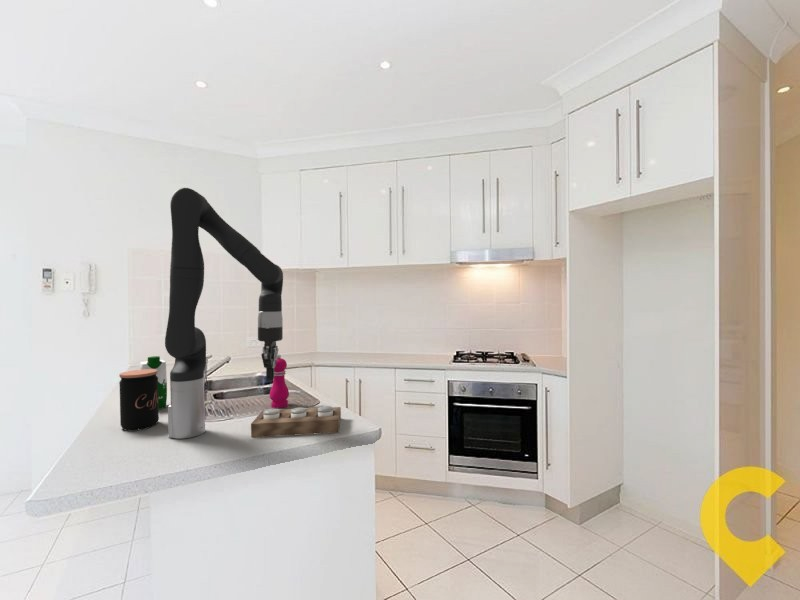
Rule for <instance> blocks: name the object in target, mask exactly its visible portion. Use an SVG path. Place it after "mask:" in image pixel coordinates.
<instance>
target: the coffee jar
mask: <svg viewBox="0 0 800 600" xmlns="http://www.w3.org/2000/svg"><path fill="white" fill-rule="evenodd" d="M157 372H158V370H155V369H143V370H140V369H135V370H128V371H127V370H126V371H124V372H121V373H119V376H118V377H119V378H120V381H119V414H120V415H119V416H120V420H119V421H120V427H121V428H122V429H123V430H124V429H126V430H125V431H129V430H132V431H139V430H138V429H141V430H145V428H146V429H149V428H151V427H154V426H156V425H157V423H158V422H159V419H160V416H159V415H160V414H159V413H160V411H159V410H160V409H159V405H158V377H157V376H156V374H157ZM148 427H149V428H148Z"/></svg>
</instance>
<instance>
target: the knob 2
mask: <svg viewBox="0 0 800 600" xmlns="http://www.w3.org/2000/svg"><path fill="white" fill-rule="evenodd" d="M333 407H334V406H333ZM333 407H332V406H328V405H327V406H325V405H324V406H320V407H317V408H318V417H321V416H333Z"/></svg>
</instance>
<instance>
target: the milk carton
mask: <svg viewBox="0 0 800 600" xmlns="http://www.w3.org/2000/svg"><path fill="white" fill-rule="evenodd" d="M160 357H161V356H159V355H158V356H154V355H153V356H148V357H147V361H140V362H139V370H143V369H155V370H158V372H157V374H156V376H157V377H158V405H159V410H160V409H166V408H167V398H168V385H167V384H168V383H167V381H168V379H167V378H168V377H167V375H168V374H167V362H166V361H165V360H164V359H161V358H160Z"/></svg>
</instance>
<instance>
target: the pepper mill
mask: <svg viewBox="0 0 800 600" xmlns="http://www.w3.org/2000/svg"><path fill="white" fill-rule="evenodd" d="M287 366H288V364H287V361H286V360H285V359H284V358H282V356H281V354H280V353H278V355H277V363H276V365H275V368H274V379H273V380H272V381H273V382H272V386H271V389H270V391H269V398H270V400H271V402H270V407H271V409H281V407H283V408H286V407H288V405H289V400H287V399H288V397H290V392H289V388H288V386H287V384H286V381H285V379H286V378H285V375H286V374H287V373H286V368H287Z"/></svg>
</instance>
